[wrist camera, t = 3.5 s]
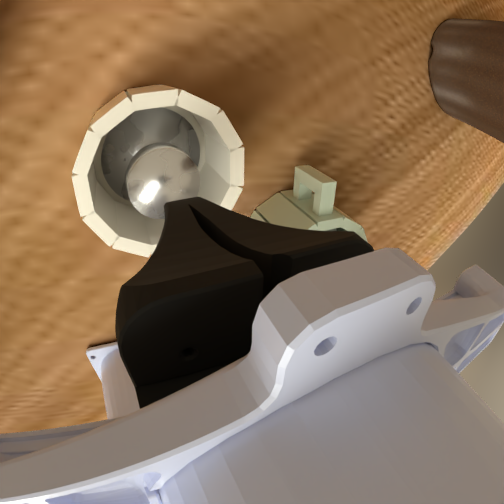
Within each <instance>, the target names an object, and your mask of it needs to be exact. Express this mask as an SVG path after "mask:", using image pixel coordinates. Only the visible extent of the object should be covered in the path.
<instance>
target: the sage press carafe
mask: <svg viewBox="0 0 504 504" xmlns="http://www.w3.org/2000/svg"><path fill="white" fill-rule="evenodd" d="M336 183H337V181H335V180H333V179H332V178H330V177H328V176H327V175H325V174H323V173H322V172H320V171H318V170H317V169H315V168H313V167H311V166H310V165H302V166H295V176H294V189H293V190H286V191H280V193H276V194H275V195H273V196H272V197H271V198H269V199H268V200H267V201H265V202H264V203H262V204H261V205H260V206H258V207H257V208H256V209H257V210H256V211H255V210H254V211H253V213H252V215H251V217H250V218H253V219H256V220H259V221H263V222H267V223H271V224H275V225H280V226H285V227H291V228H297V229H306V230H318V231H326V230H330V229H335V228H336V229H337V230H338V231H354V232H355V233H357V234H358V235H359V236H360V237H361V238H363V239H364V240H365V241H366V242H367V239H366V235H365V232H364V229H363V227H362V226H361V225H360V224H358V223H357V222H356V221H354V220H353V219H352V218H350V217H349V216H348V215H346V214H345V213H343V212H342V211H341V210H339V209H338V208H337V207H335V206H334V198H335V191H336ZM312 191H313V192H315V193H313V192H312ZM367 243H368V242H367Z"/></svg>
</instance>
